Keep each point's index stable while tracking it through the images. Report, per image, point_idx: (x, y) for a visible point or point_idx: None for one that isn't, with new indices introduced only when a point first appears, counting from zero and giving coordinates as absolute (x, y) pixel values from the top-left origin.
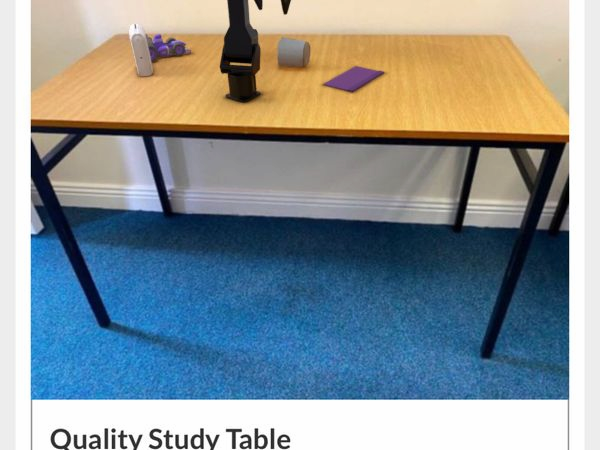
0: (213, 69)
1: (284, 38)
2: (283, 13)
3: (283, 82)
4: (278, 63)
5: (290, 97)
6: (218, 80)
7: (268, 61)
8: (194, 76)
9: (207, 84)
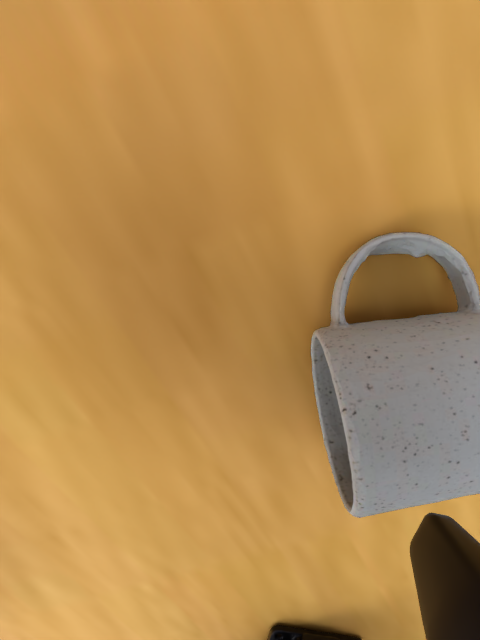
0: (23, 510)
1: (386, 483)
2: (412, 565)
3: (404, 534)
4: (329, 443)
5: None
6: (132, 588)
7: (211, 337)
8: (13, 585)
9: (120, 622)
